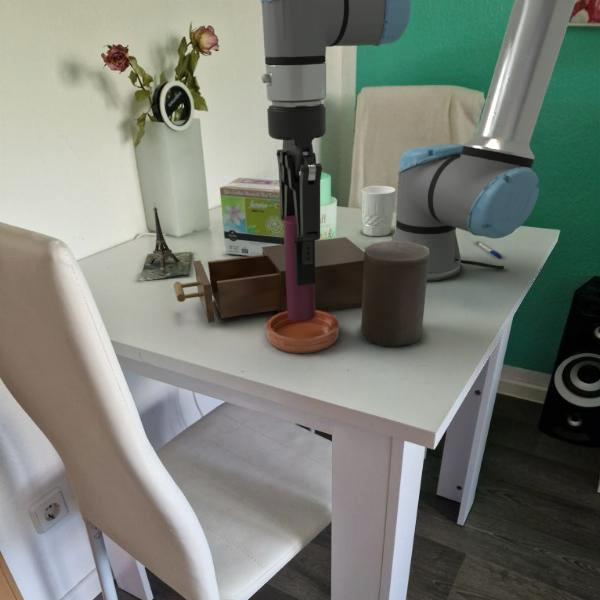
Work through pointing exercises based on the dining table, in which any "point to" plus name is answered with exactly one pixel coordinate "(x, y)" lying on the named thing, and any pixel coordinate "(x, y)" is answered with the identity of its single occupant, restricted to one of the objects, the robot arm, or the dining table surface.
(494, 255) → the ballpoint pen
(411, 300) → the pillar candle
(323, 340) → the saucer
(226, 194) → the tea box
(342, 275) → the cabinet
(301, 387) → the dining table surface
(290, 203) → the robot arm
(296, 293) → the dark purple cylinder
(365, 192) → the white cup
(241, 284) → the drawer
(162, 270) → the eiffel tower figurine
